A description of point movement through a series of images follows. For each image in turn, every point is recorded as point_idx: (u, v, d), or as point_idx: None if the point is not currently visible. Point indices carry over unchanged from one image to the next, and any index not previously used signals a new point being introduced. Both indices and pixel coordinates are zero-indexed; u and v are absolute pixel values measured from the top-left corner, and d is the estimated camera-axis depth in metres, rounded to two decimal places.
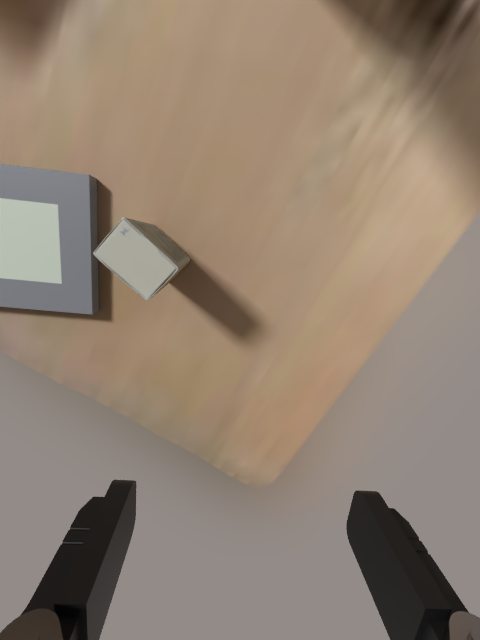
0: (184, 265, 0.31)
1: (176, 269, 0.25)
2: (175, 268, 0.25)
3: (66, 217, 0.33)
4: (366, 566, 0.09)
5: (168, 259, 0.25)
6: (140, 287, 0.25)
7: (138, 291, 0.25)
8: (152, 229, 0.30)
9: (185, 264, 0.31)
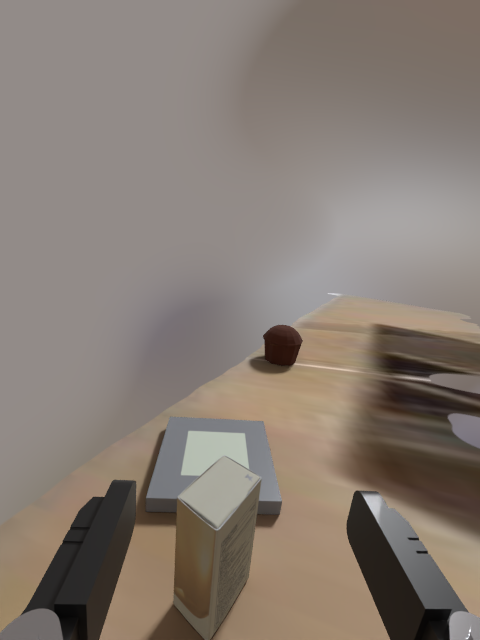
0: (208, 590, 0.22)
1: (215, 528, 0.20)
2: (216, 527, 0.20)
3: None
4: (366, 566, 0.09)
5: (226, 518, 0.21)
6: (192, 490, 0.23)
7: (188, 488, 0.23)
8: (248, 546, 0.26)
9: (209, 594, 0.22)
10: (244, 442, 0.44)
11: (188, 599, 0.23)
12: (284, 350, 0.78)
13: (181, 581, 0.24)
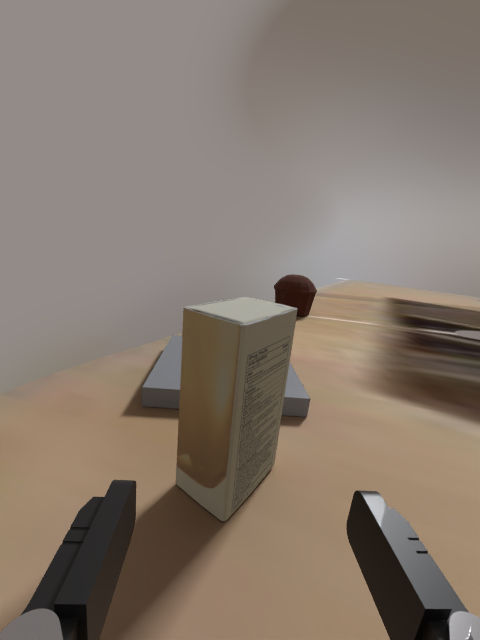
0: (227, 434, 0.15)
1: (240, 324, 0.14)
2: (242, 323, 0.14)
3: None
4: (366, 566, 0.09)
5: (255, 321, 0.14)
6: (204, 305, 0.16)
7: (198, 305, 0.16)
8: (276, 409, 0.19)
9: (227, 442, 0.15)
10: None
11: (197, 465, 0.17)
12: (297, 298, 0.71)
13: (187, 442, 0.17)
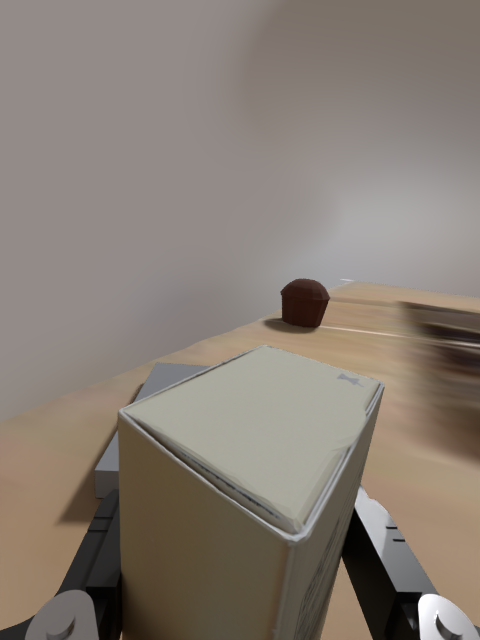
0: None
1: (287, 532, 0.04)
2: (292, 524, 0.04)
3: None
4: (347, 555, 0.10)
5: (326, 488, 0.04)
6: (176, 397, 0.06)
7: (162, 394, 0.07)
8: (333, 583, 0.09)
9: None
10: None
11: None
12: (308, 306, 0.61)
13: None
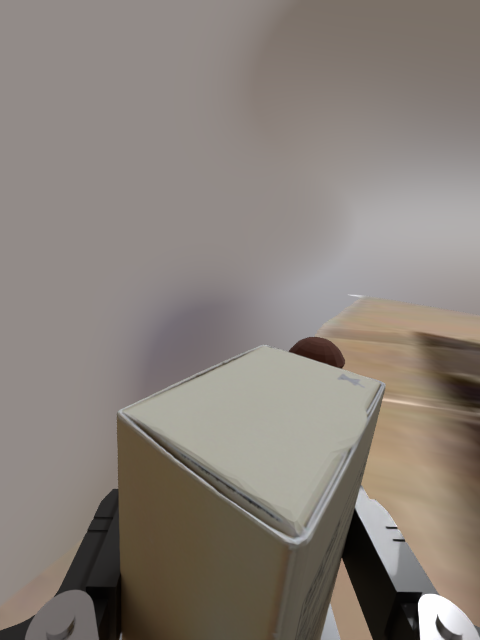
0: None
1: (287, 534, 0.04)
2: (292, 526, 0.04)
3: None
4: (347, 555, 0.10)
5: (327, 490, 0.04)
6: (176, 398, 0.06)
7: (162, 394, 0.07)
8: (333, 584, 0.09)
9: None
10: None
11: None
12: None
13: None
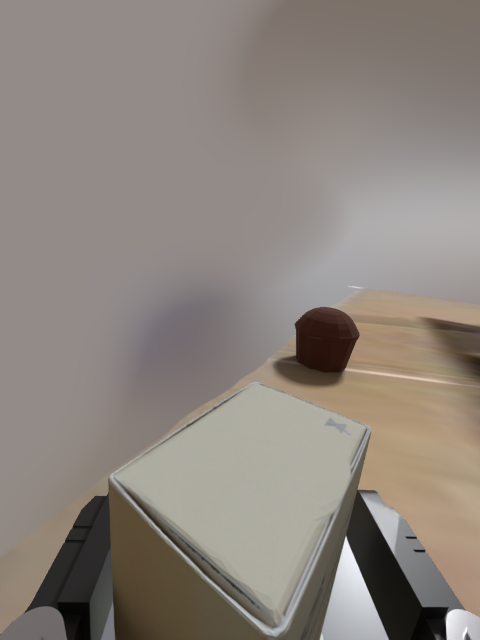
0: None
1: (267, 624, 0.04)
2: (272, 615, 0.04)
3: None
4: (364, 565, 0.09)
5: (307, 567, 0.05)
6: (166, 457, 0.07)
7: (153, 452, 0.07)
8: (323, 619, 0.09)
9: None
10: None
11: None
12: (333, 347, 0.47)
13: None
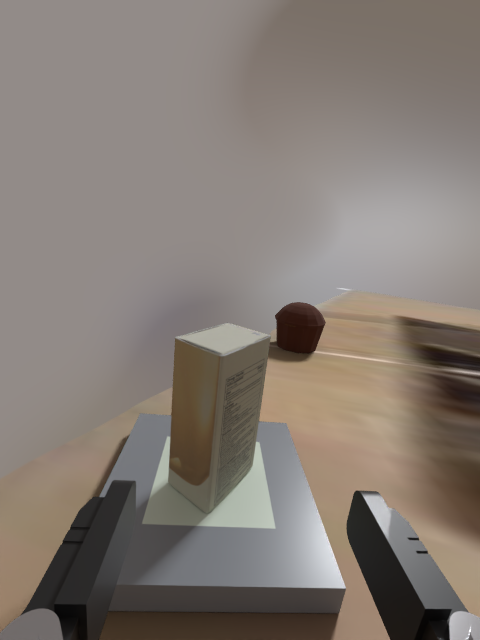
0: (209, 441, 0.19)
1: (220, 355, 0.17)
2: (221, 354, 0.17)
3: (258, 540, 0.19)
4: (366, 566, 0.09)
5: (232, 351, 0.18)
6: (192, 335, 0.20)
7: (187, 334, 0.20)
8: (253, 419, 0.23)
9: (210, 448, 0.19)
10: (259, 457, 0.26)
11: (186, 466, 0.20)
12: (303, 333, 0.60)
13: (177, 447, 0.21)
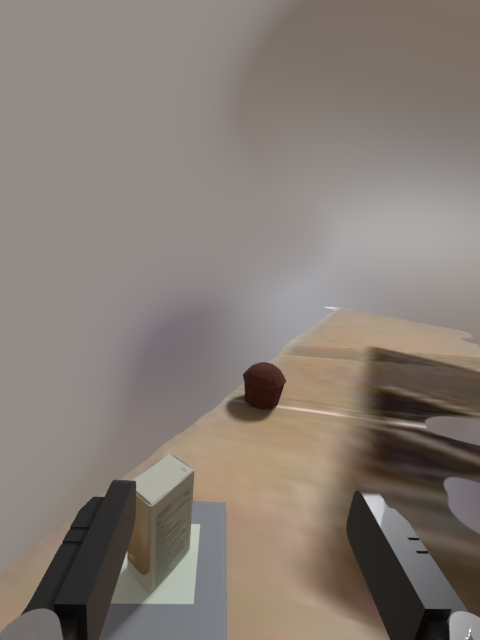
0: (148, 552, 0.29)
1: (150, 505, 0.28)
2: (151, 504, 0.28)
3: (180, 614, 0.29)
4: (366, 566, 0.09)
5: (160, 498, 0.28)
6: (138, 479, 0.30)
7: (135, 477, 0.31)
8: (185, 523, 0.33)
9: (148, 555, 0.29)
10: (197, 540, 0.37)
11: (136, 561, 0.31)
12: (265, 393, 0.71)
13: (131, 548, 0.31)
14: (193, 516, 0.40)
